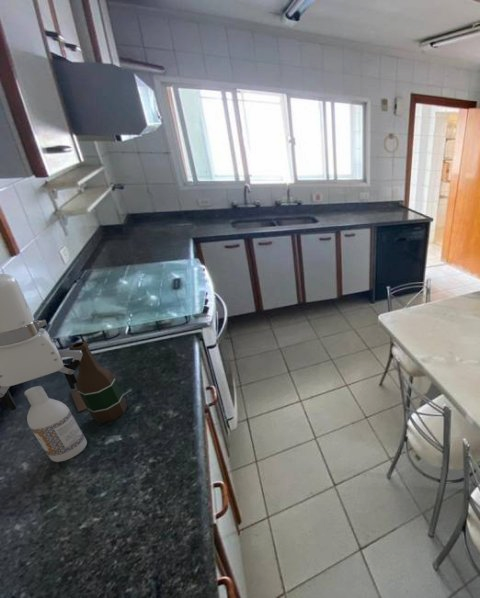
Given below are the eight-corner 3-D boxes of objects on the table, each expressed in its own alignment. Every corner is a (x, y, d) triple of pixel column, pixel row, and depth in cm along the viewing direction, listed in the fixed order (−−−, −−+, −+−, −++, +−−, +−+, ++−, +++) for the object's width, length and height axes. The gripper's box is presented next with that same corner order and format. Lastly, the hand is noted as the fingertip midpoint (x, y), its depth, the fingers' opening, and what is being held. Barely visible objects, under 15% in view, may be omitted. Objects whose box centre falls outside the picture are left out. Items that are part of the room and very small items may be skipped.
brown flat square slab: (78, 412, 95) (78, 411, 94) (70, 392, 101) (70, 391, 101) (129, 392, 103) (129, 391, 103) (119, 375, 110) (118, 374, 110)
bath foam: (46, 454, 82) (6, 393, 73) (81, 435, 87) (48, 376, 79) (56, 467, 79) (15, 405, 70) (92, 447, 84) (58, 387, 75)
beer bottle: (109, 403, 98) (76, 335, 88) (134, 404, 98) (105, 337, 88) (86, 423, 91) (47, 352, 81) (113, 424, 91) (78, 354, 81)
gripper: (65, 313, 77) (89, 372, 84) (-55, 341, 65) (-14, 407, 72) (71, 324, 73) (96, 386, 80) (-56, 356, 60) (-13, 425, 68)
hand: (44, 396), depth 76 cm, fingers open, 9 cm apart
